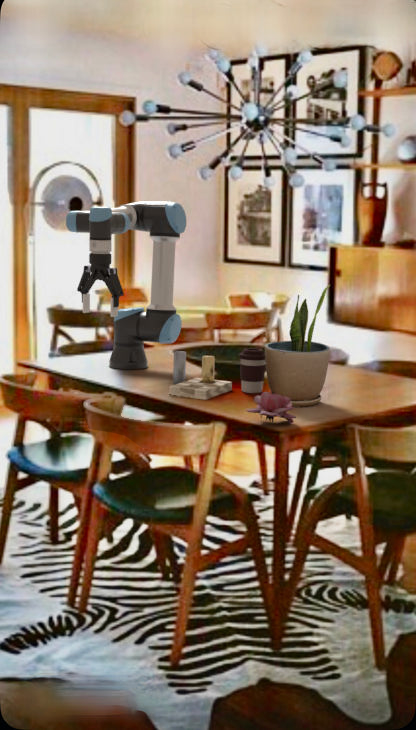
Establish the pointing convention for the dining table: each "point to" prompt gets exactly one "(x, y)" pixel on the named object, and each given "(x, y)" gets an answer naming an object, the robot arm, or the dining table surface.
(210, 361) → the yellow rectangular block
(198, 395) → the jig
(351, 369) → the dining table surface
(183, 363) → the grey rectangular block
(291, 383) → the potted plant
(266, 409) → the flower
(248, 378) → the coffee cup
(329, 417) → the dining table surface
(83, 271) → the robot arm
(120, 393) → the dining table surface
